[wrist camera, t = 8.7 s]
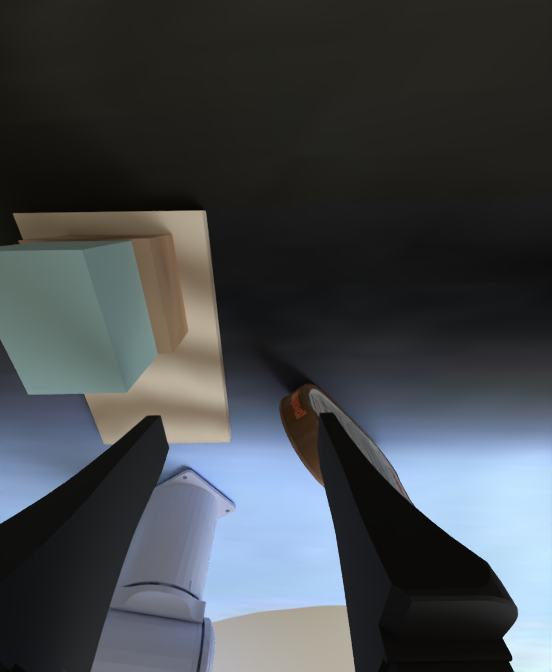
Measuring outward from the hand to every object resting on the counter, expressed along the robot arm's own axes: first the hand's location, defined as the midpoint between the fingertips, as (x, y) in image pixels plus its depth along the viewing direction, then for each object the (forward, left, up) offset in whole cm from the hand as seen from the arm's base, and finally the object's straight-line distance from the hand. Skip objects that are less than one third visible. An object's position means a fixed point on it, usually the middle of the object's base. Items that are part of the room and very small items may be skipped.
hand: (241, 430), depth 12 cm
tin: (+1, -12, -11) cm, 16 cm away
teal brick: (-4, +8, -6) cm, 11 cm away
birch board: (-8, +4, -10) cm, 14 cm away
